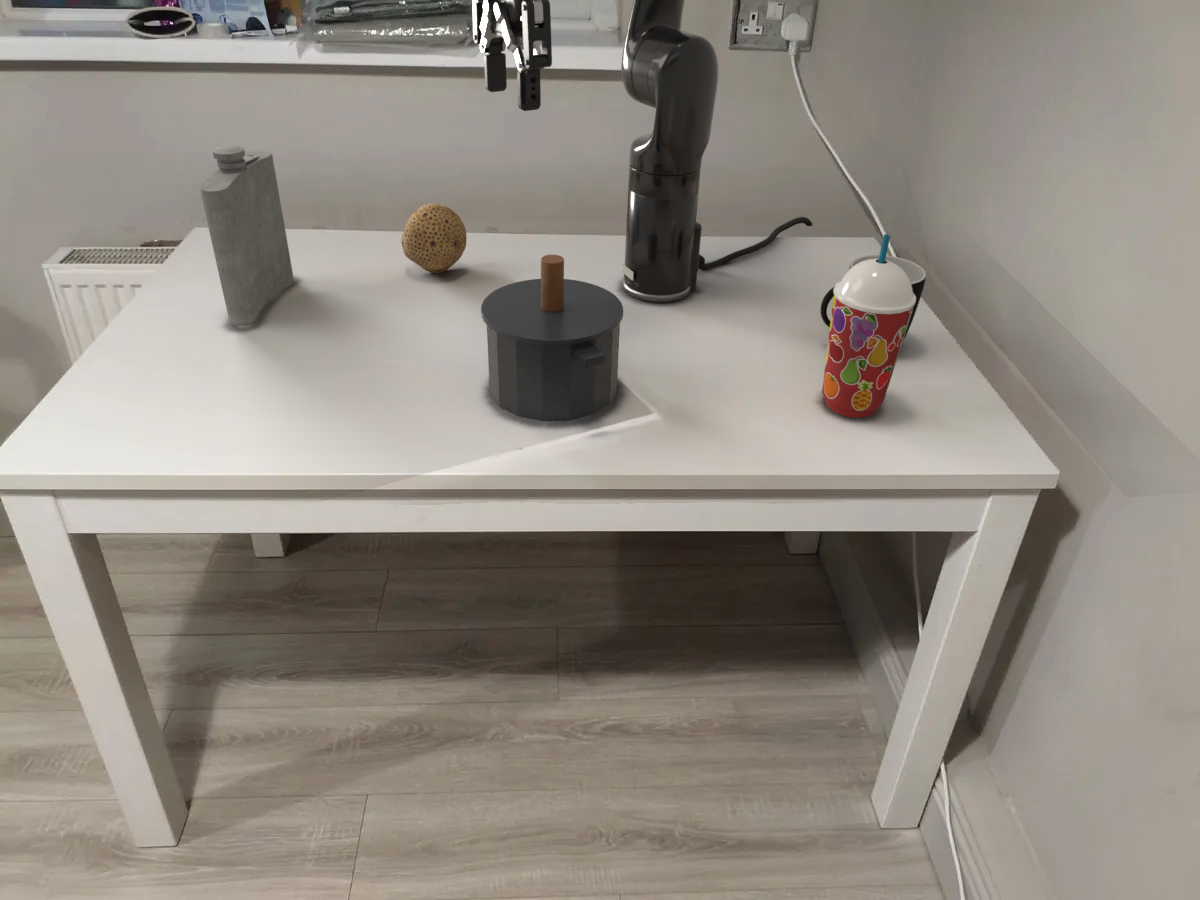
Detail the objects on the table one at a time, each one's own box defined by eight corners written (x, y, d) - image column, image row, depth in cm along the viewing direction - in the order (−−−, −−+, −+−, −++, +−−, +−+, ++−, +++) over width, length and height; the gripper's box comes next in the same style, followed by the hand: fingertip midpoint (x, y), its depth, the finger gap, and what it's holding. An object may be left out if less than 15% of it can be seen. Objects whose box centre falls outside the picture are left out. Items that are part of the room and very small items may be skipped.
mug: (891, 326, 120) (908, 253, 114) (919, 359, 112) (939, 283, 107) (803, 329, 118) (815, 256, 113) (826, 363, 111) (841, 286, 105)
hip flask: (250, 330, 114) (217, 170, 102) (219, 328, 114) (182, 167, 103) (297, 278, 127) (272, 131, 115) (269, 276, 127) (241, 129, 116)
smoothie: (891, 394, 105) (931, 227, 94) (885, 431, 99) (928, 256, 87) (818, 381, 107) (849, 216, 96) (808, 416, 101) (840, 243, 90)
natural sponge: (472, 285, 127) (468, 215, 121) (407, 290, 125) (400, 219, 119) (465, 260, 134) (461, 193, 128) (403, 264, 132) (396, 196, 126)
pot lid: (583, 278, 107) (584, 223, 103) (648, 332, 96) (652, 273, 92) (460, 301, 101) (457, 244, 97) (515, 362, 90) (514, 300, 86)
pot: (570, 342, 114) (571, 267, 108) (650, 419, 99) (656, 337, 94) (463, 365, 108) (458, 287, 102) (531, 450, 94) (530, 365, 88)
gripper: (576, -71, 83) (575, 112, 92) (512, -85, 93) (516, 81, 103) (500, -69, 80) (506, 121, 89) (442, -84, 90) (453, 88, 100)
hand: (512, 99), depth 96 cm, fingers open, 8 cm apart
